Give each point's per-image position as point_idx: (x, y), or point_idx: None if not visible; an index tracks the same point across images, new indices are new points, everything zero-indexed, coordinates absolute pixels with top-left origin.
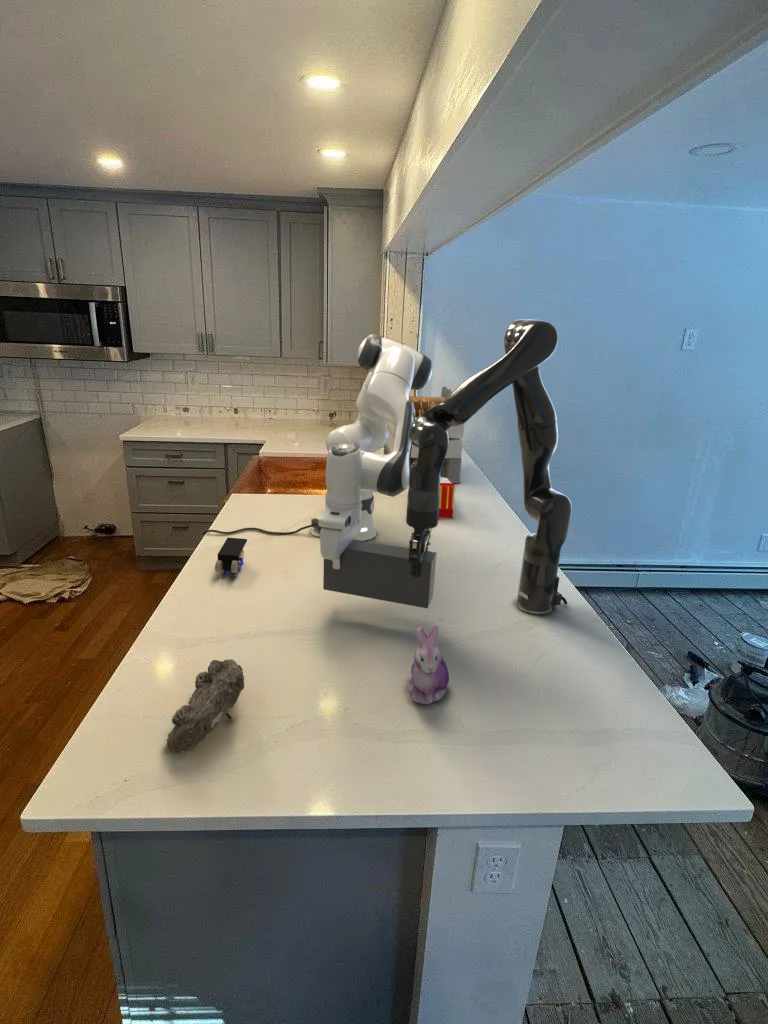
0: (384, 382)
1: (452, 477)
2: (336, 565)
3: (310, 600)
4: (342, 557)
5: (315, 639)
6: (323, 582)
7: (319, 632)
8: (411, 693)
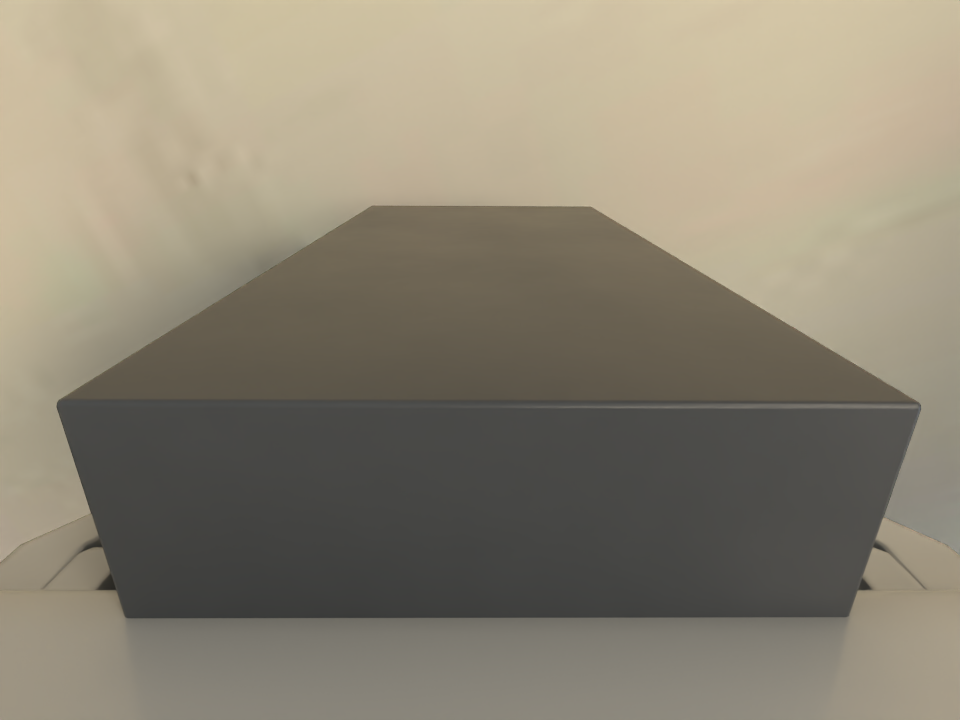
0: None
1: None
2: None
3: (555, 14)
4: None
5: (140, 249)
6: (357, 215)
7: (214, 243)
8: None
